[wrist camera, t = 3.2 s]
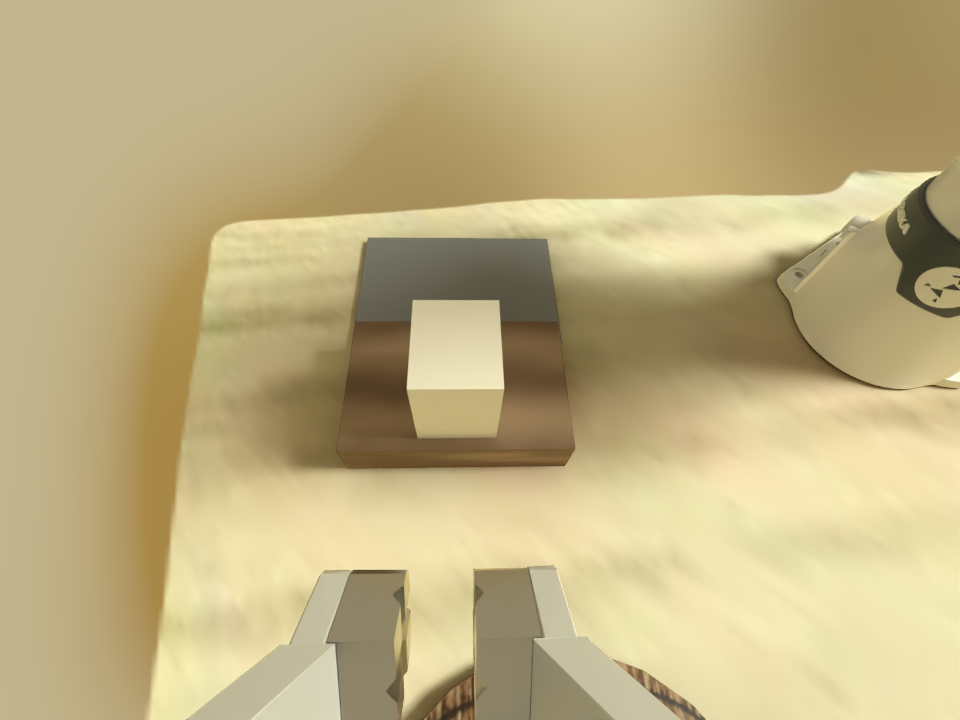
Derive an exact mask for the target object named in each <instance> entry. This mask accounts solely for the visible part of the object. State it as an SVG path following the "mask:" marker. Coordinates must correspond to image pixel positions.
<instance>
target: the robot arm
mask: <svg viewBox="0 0 960 720" xmlns="http://www.w3.org/2000/svg"><path fill="white" fill-rule="evenodd" d="M840 232H841V233H840V234H838V235H837V236H835V237H834V238H832V239H831V240H830V241H828V242H827V243H825V244H824V245H822V246H821V247H819V248H818V249H817V250H815V251H814V252H812V253H811V254H809V255H808V256H806V257H805V258H804V259H802V260H801V261H799V262H798V263H796V264H795V265H793V266H792V267H791V268H789V269H788V270H786V271H785V272H784V273H783V274H781V275H780V276H779V277H778V278H777V284H778V286H779V288H780V289H781V291H782V292H783V293H784V295H785V296H786V297H787V299H788V300H789V302H790V304H791V307H792V311H793V315H794V318H795V321H796V324H797V326H798V328H799V330H800V331H801V333H802V335H803V336H804V338H805V339H806V340H807V341H808V343H809V344H810V345H811V346H812V347H813V348H814V349H815V350H816V351H817V352H818V353H819V354H820V355H821V356H822V357H823V358H824V359H826V360H827V361H828V362H830V363H831V364H832V365H834V366H835V367H837V368H838V369H840V370H842V371H843V372H845V373H847V374H849V375H851V376H853V377H855V378H857V379H860V380H862V381H865V382H867V383H870V384H874V385H877V386H881V387H886V388H894V389H910V388H916V387H921V386H926V385H938V386H943V387H949V388H960V155H959V156H958V157H957V158H956V159H955V160H954V161H953V162H952V163H951V164H950V165H949V166H948V167H947V168H946V169H945V170H944V171H943V172H942V173H941V174H939V175H937V176H935V177H932V178H930V179H928V180H927V181H925V182H924V183H923V184H921V185H920V186H919V187H917V188H916V189H914V190H913V191H912V192H911V193H910V194H908V195H907V196H906V197H905V198H904V199H903V200H902V201H901V203H900V205H899V206H897V207H896V208H893V209H892V210H890V211H888V212H887V213H885V214H883V215H882V216H880V217H879V218H877V219H875V220H874V221H871V220H870V219H868V218H867V217H865V216H863V215H862V214H857V215H856V216H855V217H854V218H853V219H851V220H850V221H849V222H848V223H847V224H846V225H845V226H844V228H843V229H842V230H841V231H840ZM409 591H410V587H409V573H408V570H353V571H351V570H325V571H324V572H323V573H322V574H321V575H320V576H319V578H318V581H317V583H316V585H315V587H314V590H313V592H312V594H311V596H310V599H309V601H308V603H307V605H306V608H305V610H304V612H303V614H302V617H301V619H300V621H299V623H298V626H297V628H296V630H295V632H294V635H293V637H292V639H291V641H290V644H289V645H279V646H278V647H277V648H276V649H274V650H273V651H272V652H271V653H269V654H268V655H267V656H266V657H264V658H263V659H262V660H261V661H259V662H258V663H257V664H255V665H254V666H253V667H252V668H250V669H249V670H248V671H247V672H245V673H244V674H243V675H242V676H240V677H239V678H238V679H237V680H235V681H234V682H233V683H232V684H230V685H229V686H228V687H227V688H225V689H224V690H223V691H222V692H220V693H219V694H218V695H217V696H215V697H214V698H213V699H211V700H210V701H209V702H208V703H206V704H205V705H204V706H203V707H201V708H200V709H199V710H198V711H196V712H195V713H194V714H193V715H191V716H190V717H189V718H188V719H186V720H401V715H402V707H403V700H404V680H403V676H404V675H405V673H406V672H407V669H408V661H409V650H410V632H411V617H410V610H409V609H408V608H407V605H408V598H409ZM473 660H474V697H475V720H681V719H680V718H679V717H677V716H676V715H675V714H674V713H673V712H672V711H671V710H669V709H668V708H667V707H666V706H665V705H664V704H663V703H661V702H660V701H659V700H658V699H657V698H656V697H655V696H653V695H652V694H651V693H650V692H649V691H648V690H647V689H645V688H644V687H643V686H642V685H641V684H640V683H639V682H637V681H636V680H635V679H634V678H633V677H632V676H631V675H629V674H628V673H627V672H626V671H625V670H624V669H623V668H621V667H620V666H619V665H618V664H617V663H616V662H615V661H613V660H612V659H611V658H610V657H609V656H608V655H607V654H605V653H604V652H603V651H602V650H601V649H600V648H599V647H597V646H596V645H595V644H594V643H593V642H592V641H591V640H589V639H588V638H587V637H578V636H577V632H576V629H575V626H574V623H573V619H572V616H571V613H570V610H569V606H568V603H567V600H566V597H565V593H564V590H563V587H562V584H561V580H560V577H559V574H558V571H557V568H556V567H555V566H534V567H527V568H498V569H473Z"/></svg>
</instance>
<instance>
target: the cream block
mask: <svg viewBox="0 0 960 720" xmlns="http://www.w3.org/2000/svg"><path fill="white" fill-rule="evenodd" d="M407 393H408V398H409V402H410V407H411V411H412V416H413V420H414V424H415V429H416V433H417V438H418V439H421V438H496V436H497V430H498V424H499V418H500V412H501V406H502V400H503V394H504V375H503V358H502V341H501V324H500V307H499V300H413V304H412V319H411V333H410V348H409V362H408V377H407Z"/></svg>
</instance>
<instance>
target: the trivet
mask: <svg viewBox="0 0 960 720" xmlns="http://www.w3.org/2000/svg"><path fill="white" fill-rule="evenodd" d="M612 660H613V661H615V662H616V663H617V664H618V665H619V666H620V667H621V668H623V669H624V670H625V671H626V672H627V673H628V674H629V675H631V676H632V677H633V678H634V679H635V680H636V681H637V682H639V683H640V684H641V685H642V686H643V687H644V688H645V689H647V690H648V691H649V692H650V693H651V694H652V695H653V696H655V697H656V698H657V699H658V700H659V701H660V702H661V703H663V704H664V705H665V706H666V707H667V708H668V709H669V710H671V711H672V712H673V713H674V714H675V715H676V716H677V717H679V718H680V719H681V720H706V719H705V718H704V717H703V716H702V715H701V714H700V713H699V712H698V711H697V709H696V708H695V707H694V706H693V705H692V704H690V703H689V702H688V701H686V700H685V699H683V698H682V697H680V696H679V695H678V694H676V693H675V692H673V691H672V690H671V689H669V688H668V687H666V686H665V685H663V684H662V683H661V682H659V681H658V680H656V679H655V678H653V677H652V676H651V675H649V674H648V673H646V672H645V671H643V670H640V669H638V668H635V667H632V666H630V665H627V664H624V663H622V662H619V661H616V660H614V659H612ZM422 720H475V697H474V674H473V675H472V676H470V677H468V678H467V679H465V680H463V681H462V682H460V683H459V684H457V685H455V686H454V687H452V688H451V689H450V690H449V691H448V692H447V693H446V694H445V696H444V697H443V698H442V699H441V700H440V701H439V702H438V703H437V704H436V705H435V706H434V707H433V708H432V710H431V711H430V712H429V713H428V714H427V715H426V716H425V717H424V718H423V719H422Z"/></svg>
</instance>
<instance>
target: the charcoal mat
mask: <svg viewBox="0 0 960 720" xmlns="http://www.w3.org/2000/svg"><path fill="white" fill-rule="evenodd" d="M413 300H499V307H500V321H557V322H558V329H559V321H558V314H557V307H556V300H555V293H554V286H553V279H552V272H551V265H550V258H549V251H548V243H547V239H479V238H368V240H367V247H366V254H365V260H364V267H363V274H362V281H361V287H360V294H359V301H358V307H357V314H356V321H411V319H412V304H413ZM356 321H355V323H356ZM354 329H355V328H354ZM353 336H354V334H353ZM559 336H560V329H559ZM352 343H353V341H352ZM560 343H561V336H560Z"/></svg>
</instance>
